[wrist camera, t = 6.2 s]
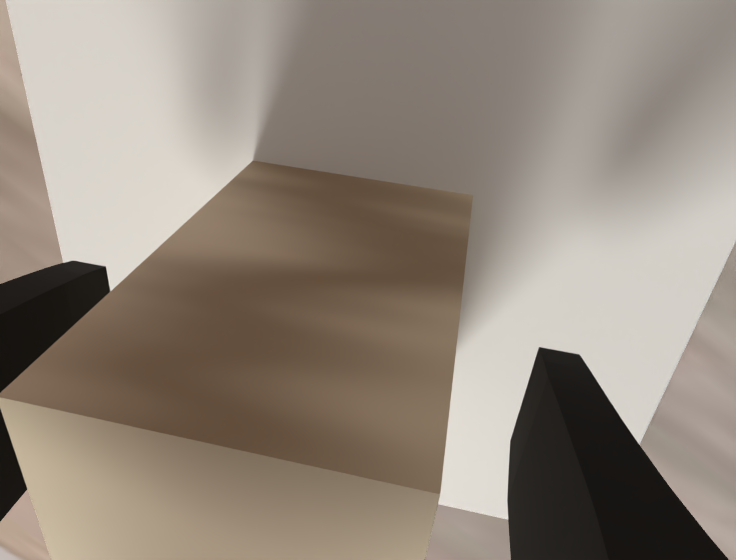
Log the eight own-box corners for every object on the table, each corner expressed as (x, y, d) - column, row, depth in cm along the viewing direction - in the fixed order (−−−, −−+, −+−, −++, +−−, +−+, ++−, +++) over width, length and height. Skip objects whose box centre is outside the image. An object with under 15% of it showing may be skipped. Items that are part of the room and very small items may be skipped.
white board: (852, -96, 9) (897, -99, 8) (589, 501, 16) (594, 538, 15) (17, -171, 11) (-35, -181, 10) (122, 400, 18) (99, 428, 17)
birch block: (473, 195, 11) (439, 494, 5) (438, 371, 13) (388, 716, 8) (252, 160, 12) (-5, 396, 6) (255, 336, 14) (75, 632, 8)
